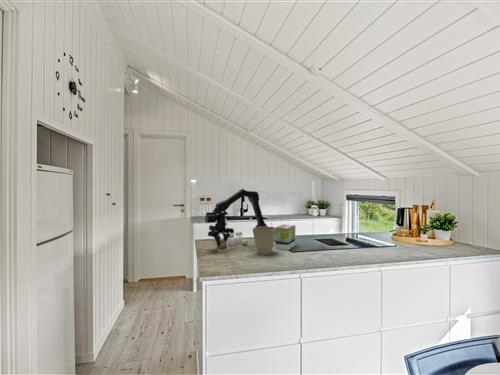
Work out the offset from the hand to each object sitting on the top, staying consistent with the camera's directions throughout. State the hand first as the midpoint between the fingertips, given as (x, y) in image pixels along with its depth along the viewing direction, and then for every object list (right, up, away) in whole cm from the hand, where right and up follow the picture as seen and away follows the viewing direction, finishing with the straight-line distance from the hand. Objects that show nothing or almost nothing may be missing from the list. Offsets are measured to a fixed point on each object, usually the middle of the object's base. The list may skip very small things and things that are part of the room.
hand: (221, 245), depth 190 cm
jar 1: (+5, -3, +17) cm, 18 cm away
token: (0, -2, 0) cm, 2 cm away
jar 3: (+11, -3, +20) cm, 23 cm away
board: (+1, -3, +3) cm, 5 cm away
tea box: (+43, -3, +7) cm, 44 cm away
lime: (+15, -3, +15) cm, 21 cm away
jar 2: (+5, -3, +11) cm, 13 cm away
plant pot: (+28, -4, -9) cm, 30 cm away
